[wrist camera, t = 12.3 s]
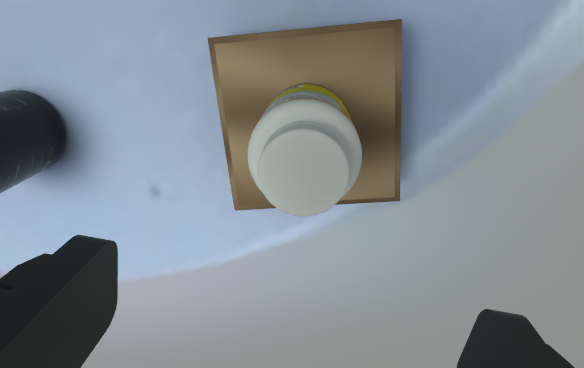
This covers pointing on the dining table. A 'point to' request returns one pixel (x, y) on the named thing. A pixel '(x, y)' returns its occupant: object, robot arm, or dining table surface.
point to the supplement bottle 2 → (305, 150)
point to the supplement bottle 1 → (27, 137)
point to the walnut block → (322, 71)
